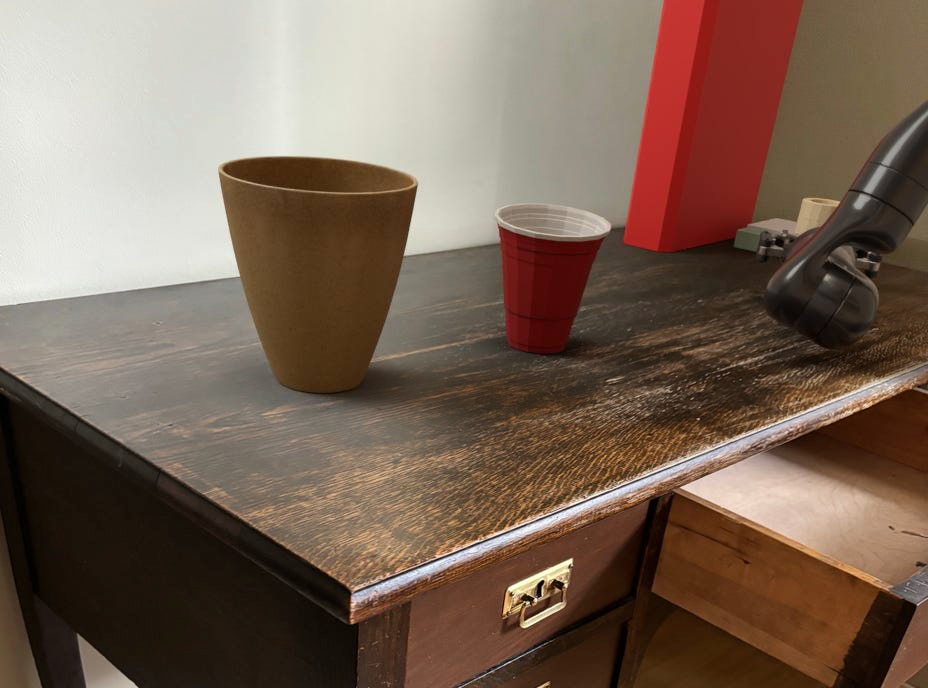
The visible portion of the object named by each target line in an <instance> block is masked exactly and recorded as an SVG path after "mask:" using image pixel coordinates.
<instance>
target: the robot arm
mask: <svg viewBox="0 0 928 688" xmlns="http://www.w3.org/2000/svg"><path fill="white" fill-rule="evenodd" d="M927 207H928V97H927V98H926V99H924V100H923V101H922V102H921V103H920V104H918V105H917V106H916V107H915V108H913V109H912V110H911V111H909V112H908V113H907V114H905V115H904V116H903V117H902V118H901V119H900V120H898V121H897V122H896V123H895V124H894V125H893V126H892V127H891V128H890V130H888V132H887V133H886V134H885V135H884V136H883V137H882V139H880V141H879V142H878V143H877V145H876V146H875V148H874V149H873V150H872V152H871V154H870V155H869V156H868V158H867V159H866V161H865V162H864V164H863V166H862V167H861V169H860V171H859V172H858V174H857V175H856V177H855V178H854V180H853V181H852V183H851V184H850V186H849V188H848V190H847V192H845V194H844V196H843V197H842V199H841V201H840V203H839V205H838V206H837V208H836V209H835V210H834V212H833V213H832V214H831V215H830V217H829V218H828V219H827V220H826V222H825V223H824V224H823V225H822V226H821V227H816V228H812V229H810V230H808V231H806V232H804V233H802V234H798V233H788V230H783V231H782V232H779V233H776V236H775V237H772V236H771V233H770V232H768V231H764V232H763V231H762V232H761V234H760V240H759V244H758V248H757V250H756V252H755V258H756V261H757V262H759V263H761V264H763V263H767V262H768V261H769V262H770V261H771V260H772V257H775V258H779V260H780V263H781V265H780V266H779V267H778V268H777V269H776V271H775V272H774V273H773V274H772V275H771V277H770V279H769V280H768V282H767V284H766V286H765V288H764V293H763V308H764V310H765V313H766V314H767V315H768V316H769V318H771V319H772V320H774V321H776V322H778V323H779V324H781V326H784V327H786V328H787V329H789V330H791V331H794V332H795V333H797V334H798V335H800V336H801V337H803V338H805V339H807V340H809V341H810V342H812V343H814V344H816V345H817V346H819V347H821V348H823V349H825V350H830V351H840V350H844V349H845V350H846V349H847V348H850V347H852V346H854V345H855V344H857V343H858V342H859V341H861V339H863V338H864V336H865V335H866V334H867V333H868V332H869V330H870V329H871V327H872V326H873V324H874V322H875V320H876V317H877V314H878V310H879V304H880V295H879V291H878V287H877V286H876V285H875V283H874V282H873V281H872V280H871V279H876V278H877V276H878V273H879V270H880V267H881V263H882V261H883V257H884V255H889V254H892V253H894V252H896V251H897V250H898V249H899V248H900V246H902V244H903V243H904V241H905V240H906V238H907V237H908V235H909V234H910V233H911V231H912V230H913V227H914V226H916V223H917V222H918V220H919V219H920V218H921V217H922V215H923V213H924V212H925V210H926V208H927ZM860 270H862V271H860Z"/></svg>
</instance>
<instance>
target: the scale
mask: <svg viewBox="0 0 928 688" xmlns="http://www.w3.org/2000/svg"><path fill="white" fill-rule="evenodd" d="M796 224H797V221H794V220H790V219H783V218H778V217H775V218H770V219H767V220H762V221H757V222H752V223H751V224H748V225H747V228H743V229H739V230H737V233H736V238H734V243H733V246H732V247H733V248H736V249H740V250H745V251H750V252H754V253H756V250H757V248H758V244H759V240H760V234H761V232H762V231H763V232H764V231H768V232H770V233H771V236H772V237H775V236H776V233H779V232H782V231H783V230H788V233H794V232H795V228H796Z"/></svg>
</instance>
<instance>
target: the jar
mask: <svg viewBox="0 0 928 688" xmlns="http://www.w3.org/2000/svg"><path fill="white" fill-rule="evenodd" d="M840 202H841V201H840V200H836V199H835V200H834V199H827V198H820V197H805V198H803V199H802V201H801V205H800V210H799V213H798V217H797V220H796V222H797V224H796V228H795V232H794V233H798V234H802V233H804V232H806V231H808V230H810V229H812V228H816V227H821V226H822V225H823V224H824V223H825V222H826V220H827V219H828V218H829V217H830V215H831V214H832V213H833V212H834V210H835V209H836V208H837V206H838V205H839V203H840Z"/></svg>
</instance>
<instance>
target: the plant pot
mask: <svg viewBox="0 0 928 688" xmlns="http://www.w3.org/2000/svg"><path fill="white" fill-rule="evenodd" d="M217 171H218V177H219V185H220V190H221V195H222V200H223V205H224V211H225V215H226V222H227V226H228V231H229V237H230V241H231V244H232V249H233V254H234V258H235V262H236V265H237V266H236V267H237V270H238V273H239V278H240V281H241V284H242V289H243V291H244V295H245V298H246V301H247V306H248V308H249V311H250V315H251V318H252V322H253V324H254V327H255V329H256V333H257V336H258V338H259V341H260V343H261V346H262V349H263V352H264V355H265V356H266V357H265V358H266V360H267V362H268V364H269V366H270V369H271V371H272V374H273V376H274V378H275V380H276V381H277V382H278V383H279V384H281V385H282V386H284V387H286V388H289V389H291V390H294V391H299V392H305V393H316V394H317V393H318V394H324V393H325V394H331V393H341V392H346V391H349V390H352V389H354V388H357V387H358V386H360V385H361V384H362V383H363V381H364V378H365V376H366V373H367V371H368V369H369V366H370V363H371V361H372V359H373V356H374V354H375V351H376V348H377V346H378V343H379V341H380V338H381V335H382V332H383V331H384V330H383V329H384V326H385V324H386V321H387V317H388V315H389V312H390V309H391V305H392V302H393V299H394V295H395V291H396V289H397V288H396V287H397V284H398V280H399V277H400V272H401V269H402V265H403V261H404V257H405V251H406V248H407V243H408V238H409V235H410V228H411V223H412V218H413V212H414V208H415V207H414V206H415V202H416V197H417V192H418V187H419V181H418V179H417V178H416V177H414V176H413V175H411V174H409V173H407V172H405V171H401V170H400V169H399V170H398V169H396V168H392V167H389V166H385V165H381V164H375V163H371V162H365V161H359V160H353V159H344V158H333V157H324V156H323V157H321V156H307V155H265V156H252V157H243V158H237V159H232V160H227V161H225V162H223V163H221V164H220V165H219V166H218V167H217Z"/></svg>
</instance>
